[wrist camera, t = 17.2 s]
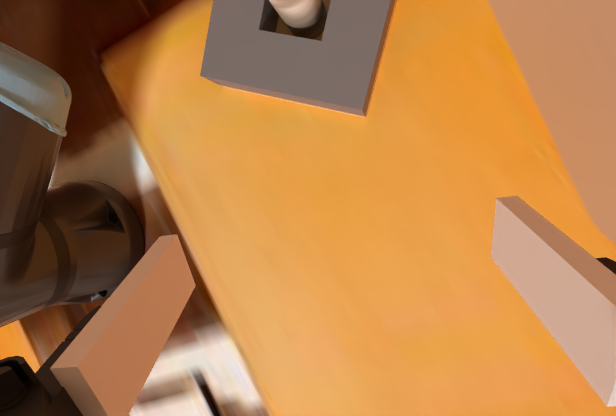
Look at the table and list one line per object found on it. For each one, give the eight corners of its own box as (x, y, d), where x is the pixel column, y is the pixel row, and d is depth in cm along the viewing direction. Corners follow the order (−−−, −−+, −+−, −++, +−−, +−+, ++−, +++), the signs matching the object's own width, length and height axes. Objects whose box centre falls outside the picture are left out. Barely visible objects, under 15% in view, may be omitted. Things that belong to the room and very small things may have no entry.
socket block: (224, 87, 38) (200, 75, 33) (254, -72, 35) (232, -110, 30) (365, 117, 35) (362, 110, 30) (410, -54, 32) (414, -92, 27)
